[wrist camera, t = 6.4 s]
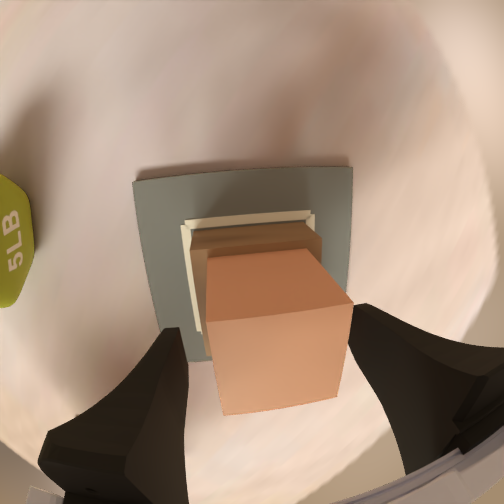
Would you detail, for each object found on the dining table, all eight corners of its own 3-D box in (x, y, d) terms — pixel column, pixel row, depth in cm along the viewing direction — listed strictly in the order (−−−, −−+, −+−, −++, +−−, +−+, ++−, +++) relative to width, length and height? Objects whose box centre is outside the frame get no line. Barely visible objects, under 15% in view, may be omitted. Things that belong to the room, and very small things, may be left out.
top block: (303, 328, 15) (336, 396, 10) (218, 339, 14) (223, 415, 10) (306, 248, 13) (353, 302, 9) (207, 257, 13) (205, 322, 8)
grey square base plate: (336, 337, 20) (339, 342, 19) (170, 357, 19) (169, 363, 18) (348, 166, 16) (353, 167, 15) (135, 180, 14) (131, 182, 14)
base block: (301, 313, 18) (315, 342, 15) (206, 324, 17) (206, 356, 15) (303, 221, 16) (322, 238, 13) (193, 231, 15) (189, 250, 12)
